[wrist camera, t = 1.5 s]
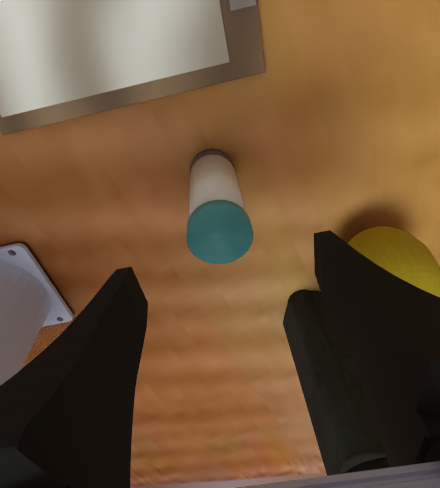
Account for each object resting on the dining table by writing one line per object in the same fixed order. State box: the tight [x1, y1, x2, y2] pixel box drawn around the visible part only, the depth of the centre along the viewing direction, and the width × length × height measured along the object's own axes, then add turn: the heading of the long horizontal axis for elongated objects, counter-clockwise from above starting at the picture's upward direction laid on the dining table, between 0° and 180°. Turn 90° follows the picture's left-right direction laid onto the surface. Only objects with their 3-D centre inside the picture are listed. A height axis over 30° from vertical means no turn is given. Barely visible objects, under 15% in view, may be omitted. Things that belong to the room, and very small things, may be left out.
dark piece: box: [283, 290, 390, 476], centre depth 19 cm, size 5×5×25 cm
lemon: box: [348, 226, 440, 297], centre depth 22 cm, size 6×6×8 cm
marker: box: [187, 149, 253, 264], centre depth 18 cm, size 3×3×8 cm
